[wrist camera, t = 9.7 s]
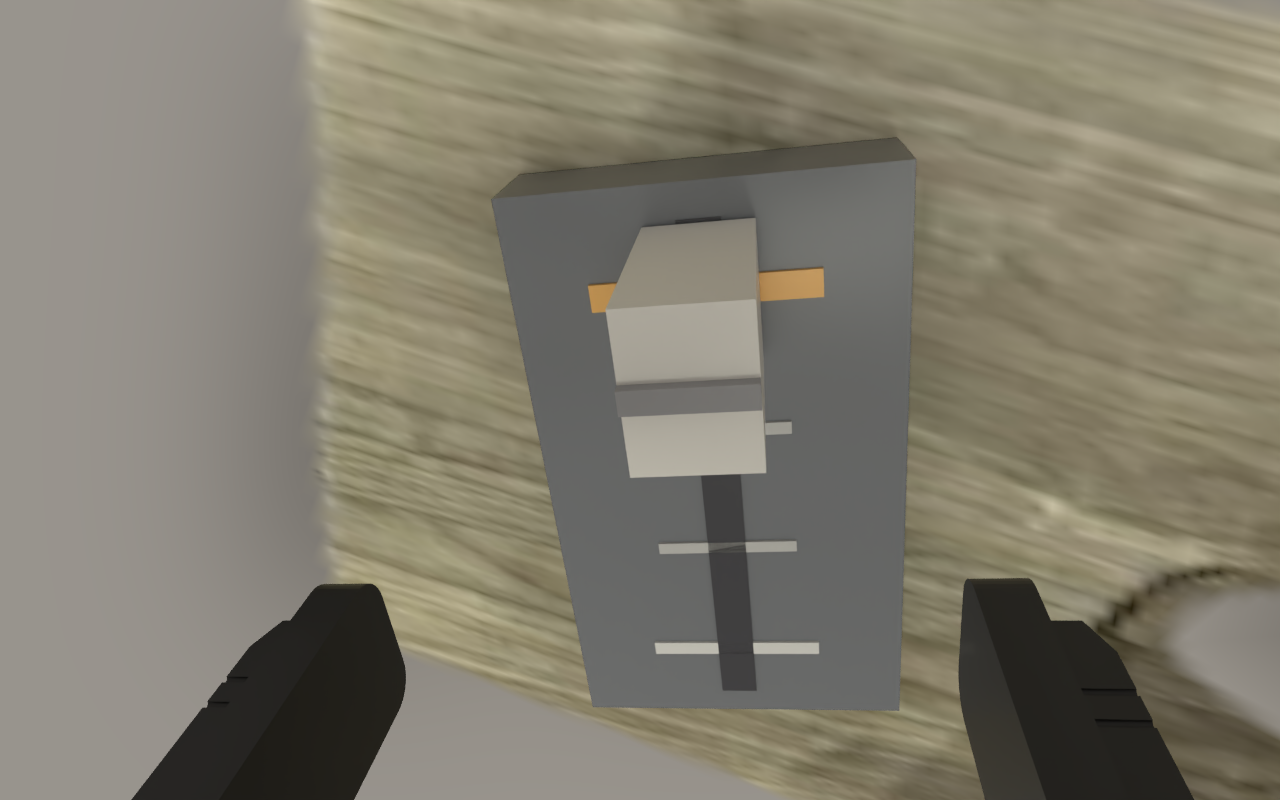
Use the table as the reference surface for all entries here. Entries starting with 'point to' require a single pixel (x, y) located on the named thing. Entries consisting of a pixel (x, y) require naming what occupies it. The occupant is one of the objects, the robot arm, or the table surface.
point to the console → (794, 428)
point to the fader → (690, 351)
